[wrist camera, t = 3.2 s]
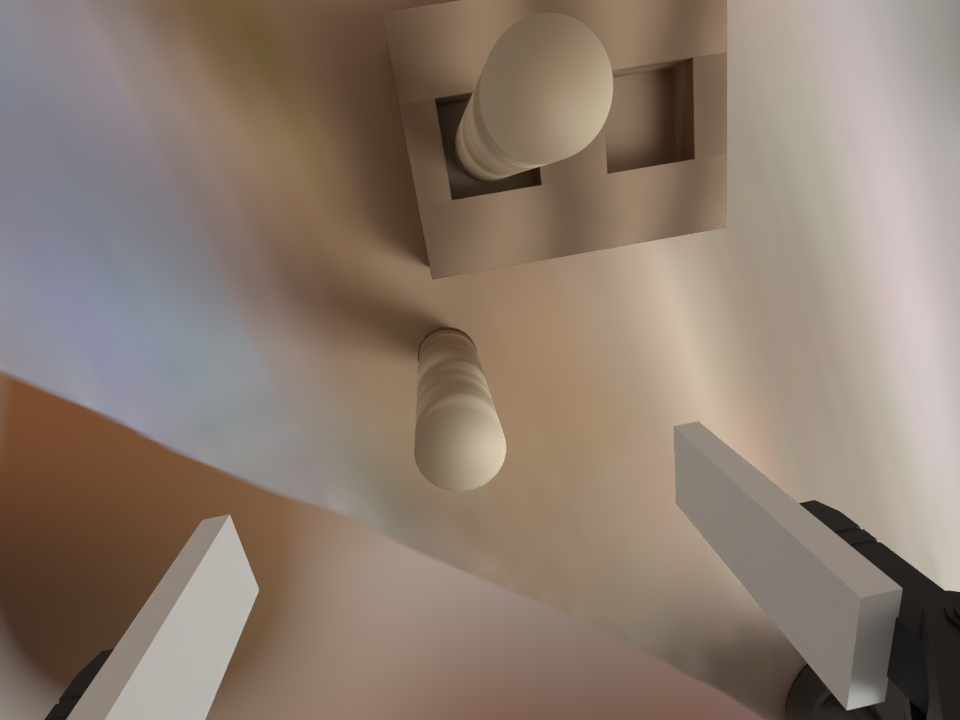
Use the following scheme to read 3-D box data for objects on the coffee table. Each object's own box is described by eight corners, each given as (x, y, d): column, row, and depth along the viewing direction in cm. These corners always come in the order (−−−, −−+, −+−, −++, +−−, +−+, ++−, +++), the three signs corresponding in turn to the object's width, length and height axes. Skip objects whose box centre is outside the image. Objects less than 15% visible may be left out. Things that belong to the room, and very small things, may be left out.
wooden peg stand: (679, -2, 27) (1032, -285, 11) (684, 223, 31) (953, 247, 15) (388, 43, 26) (332, -195, 10) (431, 268, 30) (437, 341, 14)
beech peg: (468, 314, 31) (500, 399, 18) (477, 366, 32) (513, 482, 19) (413, 324, 31) (404, 417, 18) (424, 376, 32) (423, 500, 19)
